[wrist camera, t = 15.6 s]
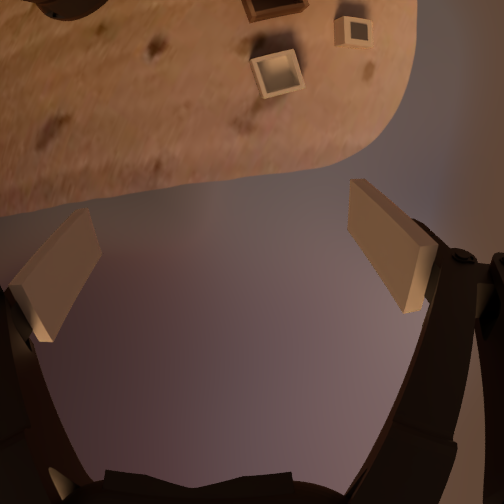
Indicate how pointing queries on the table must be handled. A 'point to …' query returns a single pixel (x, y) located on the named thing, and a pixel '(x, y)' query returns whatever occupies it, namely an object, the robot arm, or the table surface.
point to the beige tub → (277, 73)
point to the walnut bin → (272, 8)
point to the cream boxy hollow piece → (353, 32)
